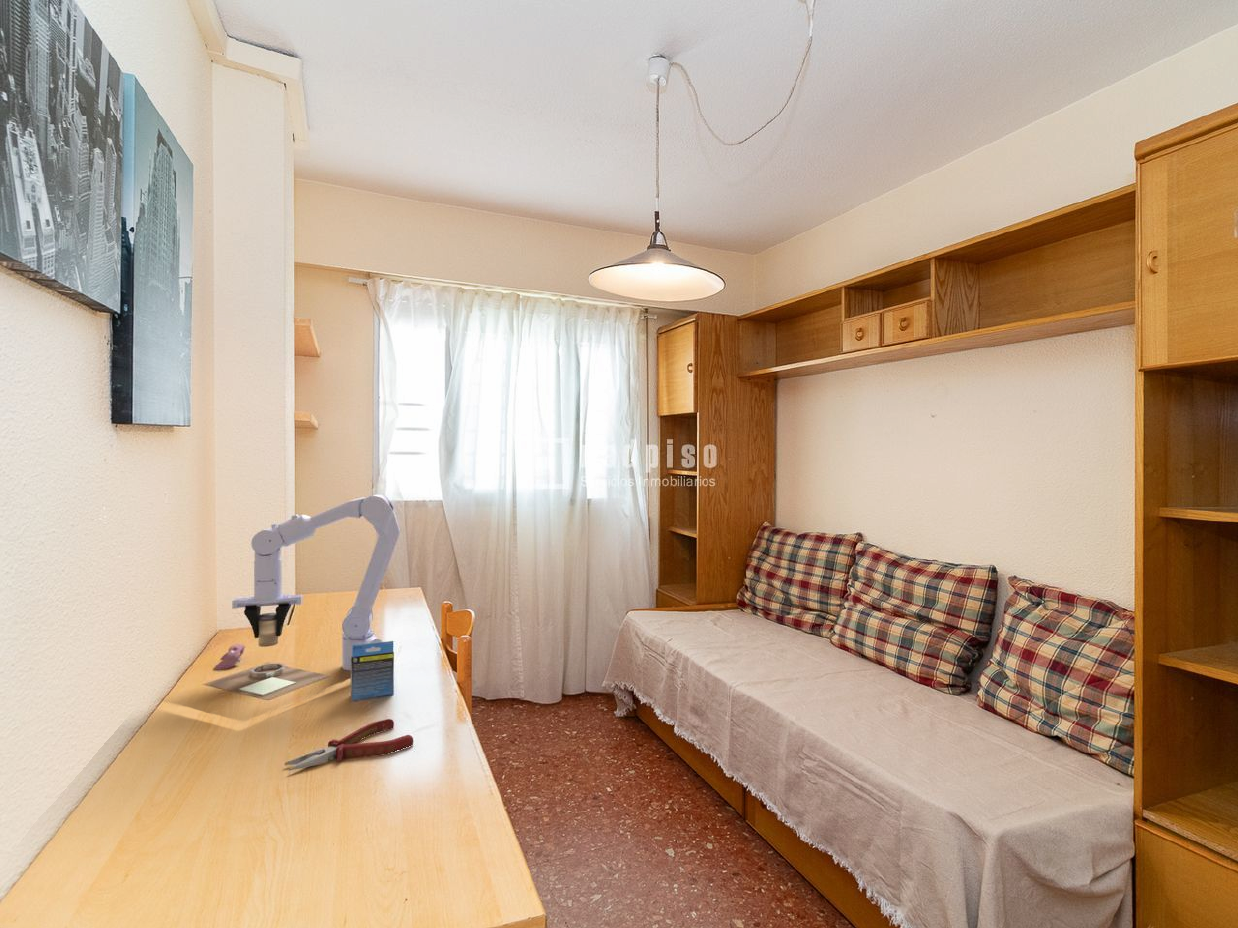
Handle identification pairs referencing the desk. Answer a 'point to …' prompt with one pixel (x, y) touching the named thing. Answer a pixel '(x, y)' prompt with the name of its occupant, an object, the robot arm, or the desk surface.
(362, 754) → the pliers
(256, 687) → the sage pad
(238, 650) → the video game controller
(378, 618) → the desk surface
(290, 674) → the walnut board
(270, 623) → the beech pin
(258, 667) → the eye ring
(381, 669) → the label tape box
